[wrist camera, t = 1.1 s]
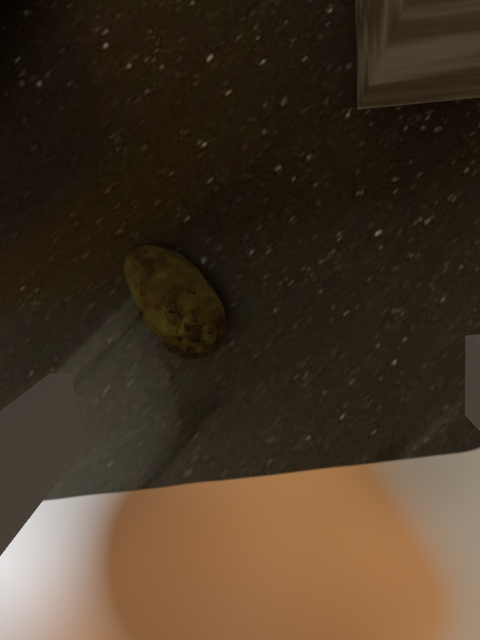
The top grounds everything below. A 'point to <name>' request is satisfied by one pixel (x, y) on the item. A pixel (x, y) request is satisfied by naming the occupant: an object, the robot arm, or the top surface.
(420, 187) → the top surface
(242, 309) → the top surface
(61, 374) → the robot arm
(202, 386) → the top surface
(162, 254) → the potato
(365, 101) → the block
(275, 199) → the top surface
